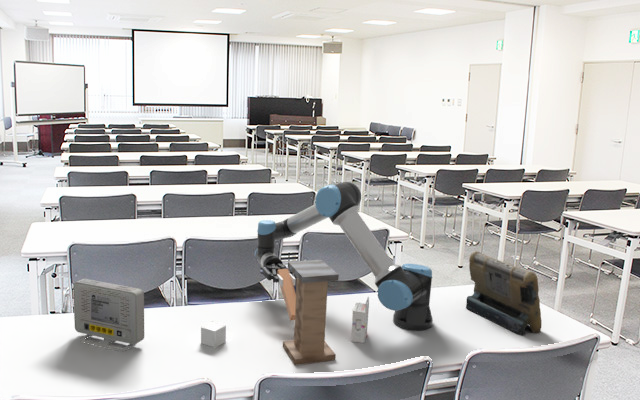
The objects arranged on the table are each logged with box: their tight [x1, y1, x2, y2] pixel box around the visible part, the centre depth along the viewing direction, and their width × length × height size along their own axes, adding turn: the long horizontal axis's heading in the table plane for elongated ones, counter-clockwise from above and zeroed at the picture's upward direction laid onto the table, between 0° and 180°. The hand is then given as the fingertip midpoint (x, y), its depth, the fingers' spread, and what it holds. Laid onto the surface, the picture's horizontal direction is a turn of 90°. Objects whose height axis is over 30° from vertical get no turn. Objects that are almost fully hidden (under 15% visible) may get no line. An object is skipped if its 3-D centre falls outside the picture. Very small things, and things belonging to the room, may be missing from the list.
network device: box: [72, 278, 145, 352], centre depth 191 cm, size 26×9×20 cm, turn 71°
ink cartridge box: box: [350, 296, 370, 344], centre depth 204 cm, size 9×5×15 cm, turn 168°
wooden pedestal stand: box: [282, 259, 339, 366], centre depth 189 cm, size 16×14×30 cm
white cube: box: [200, 320, 227, 349], centre depth 196 cm, size 6×6×6 cm
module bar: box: [277, 269, 296, 321], centre depth 211 cm, size 22×4×3 cm
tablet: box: [465, 250, 542, 336], centre depth 227 cm, size 33×14×25 cm, turn 35°
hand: (288, 282), depth 212 cm, fingers closed on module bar, 4 cm apart
